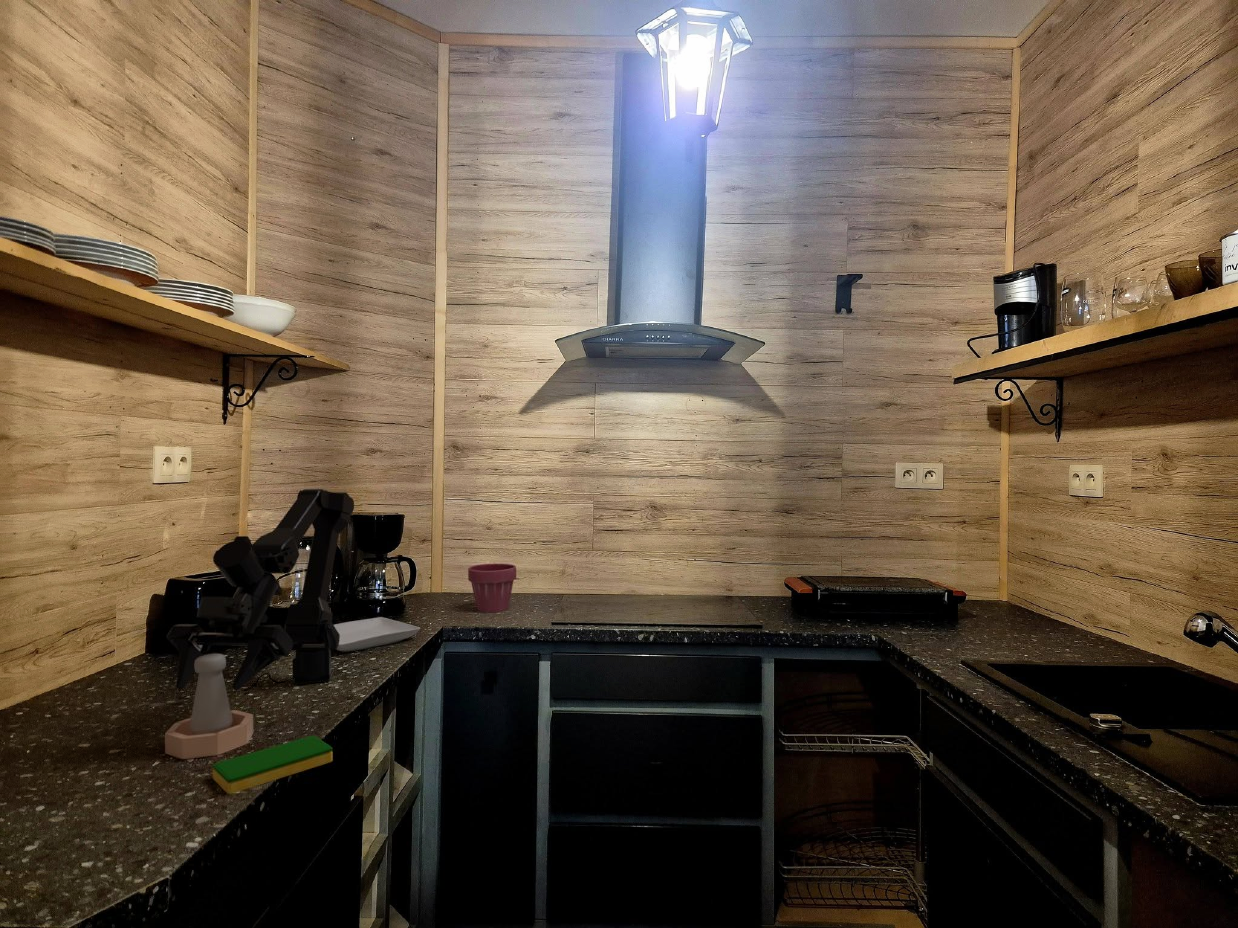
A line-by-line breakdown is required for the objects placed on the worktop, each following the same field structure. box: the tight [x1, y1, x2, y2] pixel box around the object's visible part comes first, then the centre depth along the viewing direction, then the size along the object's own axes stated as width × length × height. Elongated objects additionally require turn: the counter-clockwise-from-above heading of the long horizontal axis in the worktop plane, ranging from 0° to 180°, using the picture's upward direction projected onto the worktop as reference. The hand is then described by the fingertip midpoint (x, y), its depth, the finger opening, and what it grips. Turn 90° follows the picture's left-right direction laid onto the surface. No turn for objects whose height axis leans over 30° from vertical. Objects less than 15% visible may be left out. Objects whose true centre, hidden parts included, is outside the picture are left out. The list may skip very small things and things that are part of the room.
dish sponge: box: [212, 735, 334, 795], centre depth 98 cm, size 7×14×2 cm, turn 136°
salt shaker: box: [190, 653, 233, 735], centre depth 108 cm, size 6×6×13 cm
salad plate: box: [333, 616, 421, 653], centre depth 170 cm, size 21×21×3 cm
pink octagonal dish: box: [164, 709, 254, 760], centre depth 107 cm, size 11×11×3 cm
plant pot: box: [467, 563, 517, 614], centre depth 205 cm, size 14×14×13 cm
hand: (206, 688), depth 107 cm, fingers open, 9 cm apart
